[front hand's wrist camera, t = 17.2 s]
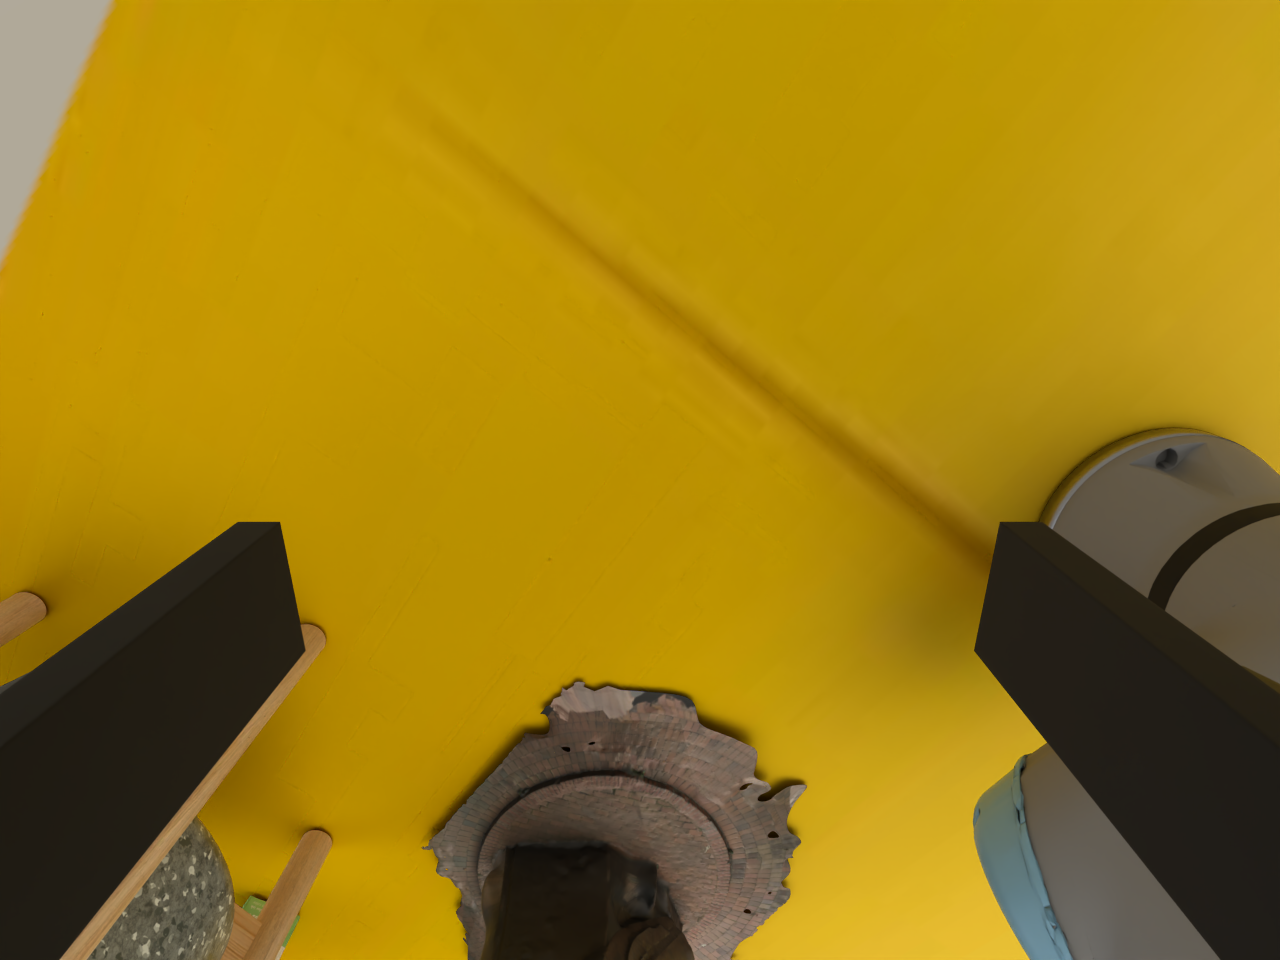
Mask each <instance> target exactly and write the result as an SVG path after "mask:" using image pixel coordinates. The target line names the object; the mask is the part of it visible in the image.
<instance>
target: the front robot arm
mask: <svg viewBox="0 0 1280 960" xmlns="http://www.w3.org/2000/svg"><path fill="white" fill-rule="evenodd" d="M305 651H306V649H305V644H304V639H303V634H302V629H301V624H300V619H299V614H298V609H297V604H296V599H295V594H294V589H293V584H292V579H291V574H290V569H289V564H288V559H287V554H286V549H285V544H284V539H283V535H282V530H281V525H280V522H237V523H236V524H234V525H233V526H232V527H230V528H229V529H228V530H226V531H225V532H223V533H222V534H221V535H219V536H218V537H216V538H215V539H214V540H212V541H211V542H210V543H208V544H207V545H205V546H204V547H203V548H201V549H200V550H199V551H197V552H196V553H194V554H193V555H192V556H190V557H189V558H187V559H186V560H185V561H183V562H182V563H181V564H179V565H178V566H176V567H175V568H174V569H172V570H171V571H169V572H168V573H167V574H165V575H164V576H163V577H161V578H160V579H158V580H157V581H156V582H154V583H153V584H151V585H150V586H149V587H147V588H146V589H145V590H143V591H142V592H140V593H139V594H138V595H136V596H135V597H134V598H132V599H131V600H129V601H128V602H127V603H125V604H124V605H122V606H121V607H120V608H118V609H117V610H116V611H114V612H113V613H111V614H110V615H109V616H107V617H106V618H104V619H103V620H102V621H100V622H99V623H98V624H96V625H95V626H93V627H92V628H91V629H89V630H88V631H86V632H85V633H84V634H82V635H81V636H80V637H78V638H77V639H75V640H74V641H73V642H71V643H70V644H69V645H67V646H66V647H64V648H63V649H62V650H60V651H59V652H57V653H56V654H55V655H53V656H52V657H51V658H49V659H48V660H46V661H45V662H44V663H42V664H41V665H39V666H38V667H37V668H35V669H34V670H33V671H31V672H29V673H27V674H25V675H23V676H21V677H19V678H17V679H15V680H13V681H11V682H9V683H7V684H5V685H3V686H1V687H0V960H60V959H61V957H62V956H63V955H64V954H65V952H66V951H67V950H68V949H69V947H70V946H71V945H72V944H73V942H74V941H75V940H76V939H77V937H78V936H79V935H80V934H81V932H82V931H83V930H84V929H85V927H86V926H87V925H88V924H89V922H90V921H91V920H92V918H93V917H94V916H95V915H96V913H97V912H98V911H99V910H100V908H101V907H102V906H103V905H104V903H105V902H106V901H107V900H108V898H109V897H110V896H111V895H112V893H113V892H114V891H115V890H116V888H117V887H118V886H119V885H120V883H121V882H122V881H123V880H124V878H125V877H126V876H127V875H128V873H129V872H130V871H131V870H132V868H133V867H134V866H135V865H136V863H137V862H138V861H139V859H140V858H141V857H142V856H143V854H144V853H145V852H146V851H147V849H148V848H149V847H150V846H151V844H152V843H153V842H154V841H155V839H156V838H157V837H158V836H159V834H160V833H161V832H162V831H163V829H164V828H165V827H166V826H167V824H168V823H169V822H170V821H171V819H172V818H173V817H174V816H175V814H176V813H177V812H178V811H179V809H180V808H181V807H182V806H183V804H184V803H185V802H186V800H187V799H188V798H189V797H190V795H191V794H192V793H193V792H194V790H195V789H196V788H197V787H198V785H199V784H200V783H201V782H202V780H203V779H204V778H205V777H206V775H207V774H208V773H209V772H210V770H211V769H212V768H213V767H214V765H215V764H216V763H217V762H218V760H219V759H220V758H221V757H222V755H223V754H224V753H225V752H226V750H227V749H228V748H229V747H230V745H231V744H232V743H233V741H234V740H235V739H236V738H237V736H238V735H239V734H240V733H241V731H242V730H243V729H244V728H245V726H246V725H247V724H248V723H249V721H250V720H251V719H252V718H253V716H254V715H255V714H256V713H257V711H258V710H259V709H260V708H261V706H262V705H263V704H264V703H265V701H266V700H267V699H268V698H269V696H270V695H271V694H272V693H273V691H274V690H275V689H276V688H277V686H278V685H279V684H280V682H281V681H282V680H283V679H284V677H285V676H286V675H287V674H288V672H289V671H290V670H291V669H292V667H293V666H294V665H295V664H296V662H297V661H298V660H299V659H300V657H301V656H302V655H303V654H304V652H305ZM974 651H975V652H976V654H977V655H978V656H979V657H980V659H981V660H982V661H983V662H984V664H985V665H986V666H987V667H988V669H989V670H990V671H991V672H992V674H993V675H994V676H995V677H996V679H997V680H998V681H999V682H1000V684H1001V685H1002V686H1003V688H1004V689H1005V690H1006V691H1007V693H1008V694H1009V695H1010V696H1011V698H1012V699H1013V700H1014V701H1015V703H1016V704H1017V705H1018V706H1019V708H1020V709H1021V710H1022V711H1023V713H1024V714H1025V715H1026V716H1027V718H1028V719H1029V720H1030V721H1031V723H1032V724H1033V725H1034V726H1035V728H1036V729H1037V730H1038V731H1039V733H1040V734H1041V735H1042V736H1043V738H1044V739H1045V740H1046V741H1047V743H1046V744H1045V745H1043V746H1042V747H1040V748H1039V749H1038V750H1036V751H1035V752H1033V753H1032V754H1031V753H1030V754H1027V755H1024V756H1022V757H1021V758H1020V759H1019V760H1018V761H1017V763H1016V764H1015V766H1014V769H1012V770H1011V771H1010V772H1009V773H1008V774H1007V775H1005V776H1004V777H1003V778H1002V779H1000V780H999V781H998V782H997V783H995V784H994V785H993V786H992V787H990V788H989V789H988V790H987V791H986V792H984V793H983V795H982V796H981V797H980V798H979V800H978V802H977V804H976V806H975V809H974V818H973V826H974V840H975V844H976V848H977V852H978V855H979V859H980V862H981V864H982V867H983V870H984V873H985V875H986V877H987V880H988V882H989V885H990V887H991V889H992V891H993V894H994V896H995V898H996V900H997V902H998V904H999V906H1000V908H1001V910H1002V912H1003V914H1004V916H1005V917H1006V919H1007V921H1008V923H1009V925H1010V927H1011V928H1012V930H1013V932H1014V934H1015V935H1016V937H1017V939H1018V941H1019V942H1020V944H1021V946H1022V947H1023V949H1024V951H1025V952H1026V954H1027V955H1028V957H1029V959H1030V960H1280V475H1279V474H1278V473H1277V472H1275V471H1274V470H1273V469H1272V468H1271V467H1270V466H1269V465H1268V464H1267V463H1266V462H1265V461H1264V460H1262V459H1261V458H1260V457H1259V456H1257V455H1256V454H1254V453H1252V452H1251V451H1250V450H1248V449H1247V448H1245V447H1243V446H1241V445H1239V444H1237V443H1235V442H1233V441H1230V440H1227V439H1225V438H1222V437H1219V436H1216V435H1213V434H1210V433H1208V432H1204V431H1200V430H1195V429H1187V428H1164V429H1157V430H1150V431H1146V432H1142V433H1138V434H1135V435H1132V436H1129V437H1126V438H1124V439H1121V440H1119V441H1117V442H1115V443H1113V444H1111V445H1109V446H1107V447H1105V448H1103V449H1102V450H1100V451H1098V452H1097V453H1095V454H1094V455H1092V456H1091V457H1090V458H1088V459H1087V460H1085V461H1084V462H1083V463H1082V464H1081V465H1079V466H1078V467H1077V468H1076V469H1075V470H1074V471H1073V472H1072V473H1071V474H1070V475H1069V476H1068V477H1067V478H1066V479H1065V480H1064V481H1063V482H1062V484H1061V485H1060V486H1059V487H1058V488H1057V490H1056V491H1055V493H1054V494H1053V495H1052V497H1051V499H1050V500H1049V502H1048V504H1047V505H1046V507H1045V509H1044V511H1043V513H1042V516H1041V518H1040V521H1039V522H1000V525H999V530H998V535H997V539H996V544H995V549H994V554H993V559H992V564H991V569H990V574H989V579H988V584H987V589H986V594H985V599H984V604H983V609H982V614H981V619H980V624H979V629H978V634H977V639H976V644H975V649H974Z"/></svg>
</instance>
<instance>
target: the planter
mask: <svg viewBox="0 0 1280 960" xmlns="http://www.w3.org/2000/svg"><path fill="white" fill-rule="evenodd" d="M45 616H46V606H45V604H44V603H43V601H42V600H41V599H40V598H39V597H37V596H35V595H34V594H31V593H27V592H20V593H16V594H14V595H13V596H11V597H9V598H8V599H6V600H4V601H2V602H1V603H0V647H1V646H3V645H4V644H6V643H7V642H9V641H10V640H12V639H13V638H15V637H17V636H18V635H20V634H21V633H23V632H24V631H26V630H27V629H29V628H30V627H32V626H33V625H35V624H37V623H38V622H40V621H41V620H43V619H44V617H45ZM301 629H302V634H303V639H304V644H305V649H306V651H305V652H304V654H303V655H302V656H301V657H300V659H299V660H298V661H297V662H296V664H295V665H294V666H293V667H292V669H291V670H290V671H289V672H288V674H287V675H286V676H285V677H284V679H283V680H282V681H281V682H280V684H279V685H278V686H277V688H276V689H275V690H274V691H273V693H272V694H271V695H270V696H269V698H268V699H267V700H266V701H265V703H264V704H263V705H262V706H261V708H260V709H259V710H258V711H257V713H256V714H255V715H254V716H253V718H252V719H251V720H250V721H249V723H248V724H247V725H246V726H245V728H244V729H243V730H242V731H241V733H240V734H239V735H238V736H237V738H236V739H235V740H234V741H233V743H232V744H231V745H230V747H229V748H228V749H227V750H226V752H225V753H224V754H223V755H222V757H221V758H220V759H219V760H218V762H217V763H216V764H215V765H214V767H213V768H212V769H211V770H210V772H209V773H208V774H207V775H206V777H205V778H204V779H203V780H202V782H201V783H200V784H199V785H198V787H197V788H196V789H195V790H194V792H193V793H192V794H191V795H190V797H189V798H188V799H187V800H186V802H185V803H184V804H183V806H182V807H181V808H180V809H179V811H178V812H177V813H176V814H175V816H174V817H173V818H172V819H171V821H170V822H169V823H168V824H167V826H166V827H165V828H164V829H163V831H162V832H161V833H160V834H159V836H158V837H157V838H156V839H155V841H154V842H153V843H152V844H151V846H150V847H149V848H148V849H147V851H146V852H145V853H144V854H143V856H142V857H141V858H140V859H139V861H138V862H137V863H136V865H135V866H134V867H133V868H132V870H131V871H130V872H129V873H128V875H127V876H126V877H125V878H124V880H123V881H122V882H121V883H120V885H119V886H118V887H117V888H116V890H115V891H114V892H113V893H112V895H111V896H110V897H109V898H108V900H107V901H106V902H105V903H104V905H103V906H102V907H101V908H100V910H99V911H98V912H97V913H96V915H95V916H94V917H93V918H92V920H91V921H90V922H89V924H88V925H87V926H86V927H85V929H84V930H83V931H82V932H81V934H80V935H79V936H78V937H77V939H76V940H75V941H74V942H73V944H72V945H71V946H70V947H69V949H68V950H67V951H66V952H65V954H64V955H63V956H62V957H61V959H60V960H275V958H276V956H277V954H278V952H279V950H280V948H281V946H282V944H283V942H284V940H285V938H286V936H287V934H288V932H289V930H290V928H291V926H292V924H293V922H294V920H295V918H296V916H297V914H298V912H299V910H300V908H301V906H302V904H303V902H304V900H305V898H306V896H307V894H308V892H309V890H310V888H311V886H312V884H313V882H314V880H315V878H316V876H317V874H318V872H319V870H320V868H321V866H322V865H323V863H324V861H325V859H326V857H327V855H328V853H329V851H330V849H331V846H332V840H331V838H330V836H329V835H328V834H326V833H325V832H323V831H319V830H311V831H308V832H306V833H305V834H304V835H303V837H302V839H301V840H300V842H299V844H298V846H297V848H296V849H295V851H294V853H293V855H292V857H291V858H290V860H289V862H288V864H287V866H286V867H285V869H284V871H283V873H282V875H281V876H280V878H279V880H278V882H277V884H276V885H275V887H274V889H273V891H272V892H271V894H270V896H269V898H268V900H267V901H266V903H265V905H264V907H263V909H262V910H261V912H260V914H259V916H258V918H257V919H256V918H255V917H253V916H252V915H251V914H249V913H248V912H247V911H245V910H244V909H242V908H241V907H240V906H238V905H237V904H236V903H234V890H233V885H232V879H231V876H230V873H229V869H228V866H227V864H226V862H225V859H224V857H223V855H222V853H221V851H220V849H219V847H218V845H217V844H216V842H215V840H214V839H213V837H212V835H211V834H210V832H209V831H208V830H207V828H206V827H205V826H204V824H203V823H202V822H201V821H200V820H199V818H198V817H197V816H196V815H197V814H198V812H199V811H200V810H201V808H202V807H203V806H204V805H205V803H206V802H207V801H208V799H209V798H210V797H211V795H212V794H213V793H214V791H215V790H216V789H217V787H218V786H219V785H220V783H221V782H222V781H223V780H224V778H225V777H226V776H227V774H228V773H229V772H230V770H231V769H232V768H233V766H234V765H235V764H236V762H237V761H238V760H239V758H240V757H241V756H242V755H243V753H244V752H245V751H246V749H247V748H248V747H249V745H250V744H251V743H252V741H253V740H254V739H255V737H256V736H257V735H258V733H259V732H260V731H261V730H262V728H263V727H264V726H265V724H266V723H267V722H268V720H269V719H270V718H271V716H272V715H273V714H274V712H275V711H276V710H277V708H278V707H279V706H280V704H281V703H282V702H283V701H284V699H285V698H286V697H287V695H288V694H289V693H290V691H291V690H292V689H293V687H294V686H295V685H296V683H297V682H298V681H299V679H300V678H301V677H302V676H303V674H304V673H305V672H306V670H307V669H308V668H309V666H310V665H311V664H312V662H313V661H314V660H315V658H316V657H317V656H318V654H319V653H320V652H321V651H322V649H323V648H324V646H325V644H326V638H325V635H324V633H323V632H322V631H321V630H320V629H319V628H318V627H316V626H314V625H310V624H302V625H301Z"/></svg>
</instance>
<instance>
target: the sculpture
mask: <svg viewBox="0 0 1280 960" xmlns="http://www.w3.org/2000/svg"><path fill="white" fill-rule="evenodd" d="M584 684H585V682H576V683H574V686H572V687H571V688H569V689H568V690H565V689H564V688H562V692H561V696H560V697H557V698H555V699H554V700H553V702H552V703H551V705H549V706H546V707H545V709H544V710H543V711H542V712H541V713H540V714H545V715H546V716H547V717H548V719H549V722H550V730H549V732H548V733H547V734H544V735H537V734H529V733H525V734H524V736H525V737H526V738H523V740H522V741H521V743H518V744H517V745H516V746H515V748H513V750H512V752H510V753H509V755H508V757H506V758H505V759H504V761H502V762H503V763H502V764H500V765H499V766H498V767H497V768H496V769H495V771H494V772H493V773H492V774H491V775H490V776H488V778H487V779H485V782H484V783H483V784H481V786H479V787H478V788H477V789H476V790H475V792H473V793H474V794H473V795H472V796H470V797H469V799H467V803H466V804H463V805H462V807H461V808H459V809H458V812H456V814H454V815H453V816H452V819H450V821H448V823H446V826H445V828H444V829H443V830H442V831H440V832H439V833H438V834H436V835H435V836H434V837H432V840H429V846H427V847H425V848H424V847H423V848H422V849H426V850H430V849H433V851H434V853H435V855H436V857H437V858H438V860H439V862H438V865H437V868H436V872H437V873H438V874H439V875H440V876H442V877H447V878H450V879H451V880H452V882H453V883H454V885H455V886H456V887H457V888H459V889H460V890H461V893H462V895H463V896H462V900H461V906H460V908H458V909H457V911H456V914H457V916H458V918H459V920H460V921H461V922H462V924H463V926H464V928H465V929H466V931H467V932H468V934H467V933H466V934H465V935H466V940H467V941H466V940H465V939H464V938H463V940H464V941H465V942H466V944H467V945H468V960H731V959H730V957H731V955H732V953H733V952H734V950H735V949H736V947H737V946H738V944H739V943H740V942H741V941H743V940H744V939H746V938H748V937H749V936H752V935H753V934H754V933H755V932H756V931H757V929H756V928H757V927H758V926H759V925H763V924H764V921H765V920H766V919H768V918H769V917H770V916H771V915H772V914H774V912H776V911H777V908H778V907H780V906H782V905H783V903H784V904H785V903H786V902H787V900H788V899H789V897H790V889H788V888H784V887H783V886H782V883H781V882H782V881H783V880H784V879H785V878H786V877H787V876H788V875H789V873H790V865H789V863H788V860H787V859H788V858H793V856H792V854H793V851H794V849H795V848H796V847H797V846H798V845H799V844H800V843H801V841H800V839H799V838H798V837H797V836H795V835H793V834H791V833H790V832H789V831H788V828H787V817H788V814H789V812H790V809H791V807H792V806H793V804H794V803H795V801H796V800H797V799H798V798H799V796H800V795H801V794H802V793H803V792H804V790H805V789H806V788H807V786H806V785H795V786H790V787H787V788H785V789H783V790H782V791H780V792H779V793H777V794H776V795H775V796H774V797H773V798H772V799H770V800H768V801H765V802H760V801H758V797H759V796H760V795H761V794H763V793H766V792H768V791H769V790H770V789H771V786H770V785H769V784H768V783H767V782H764V781H761V780H758V779H756V778H755V776H754V770H755V766H756V762H757V751H756V750H755V749H754V748H753V747H751V746H749V745H747V744H745V743H742V742H740V741H738V740H736V739H734V738H732V737H729V736H726V735H724V734H721V733H718V732H715V731H713V730H710V729H708V728H706V727H704V726H703V725H701V724H700V722H699V721H698V717H697V713H696V708H695V705H694V703H693V702H692V700H690V699H688V698H687V697H684V696H680V695H675V694H667V693H656V692H642V691H627V690H619V689H616V688H613V687H610V686H607V687H604V688H602V689H599V690H597V691H593V690H590V689H588V688H585V687H584ZM590 742H595V744H593V745H588V743H590ZM561 747H569V748H570V752H566V751H564V750H563V749H562V748H561ZM554 752H555V753H554ZM747 783H753V784H752V785H749V786H748V787H747V788H746V789H745V790H740V787H741V786H742V785H744V784H747ZM764 786H766V787H764ZM771 831H775V832H776V833H777V834H778V835H779V837H778V838H769V837H768V834H769V833H770V832H771ZM445 868H447V869H448V870H445ZM768 892H772V893H771V894H768ZM745 909H749V910H750V911H751V914H747V913H744V910H745Z"/></svg>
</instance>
